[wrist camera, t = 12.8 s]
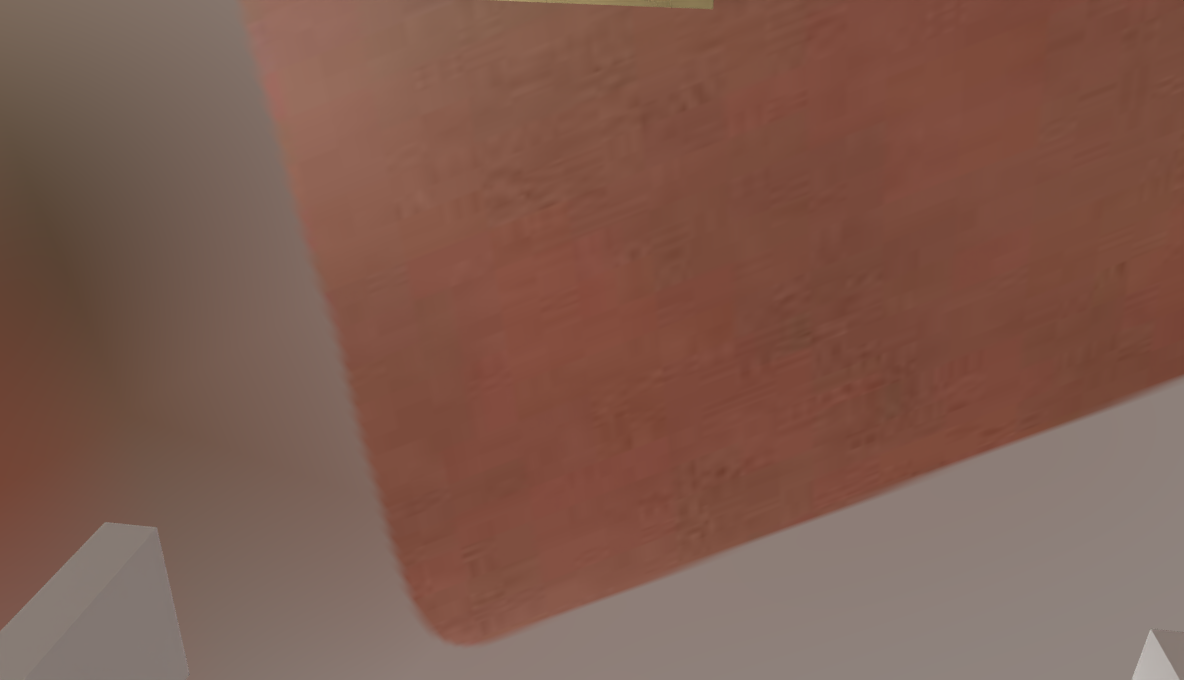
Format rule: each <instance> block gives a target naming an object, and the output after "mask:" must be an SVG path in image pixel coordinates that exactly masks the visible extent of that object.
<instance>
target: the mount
mask: <svg viewBox="0 0 1184 680" xmlns="http://www.w3.org/2000/svg"><path fill="white" fill-rule="evenodd" d="M499 1H524V2H549V3H574V4H599V5H624V6H649V7H674V8H699V9H713V2H714V0H499Z"/></svg>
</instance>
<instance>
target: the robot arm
mask: <svg viewBox="0 0 1184 680" xmlns="http://www.w3.org/2000/svg"><path fill="white" fill-rule="evenodd" d="M188 676H189V669H188V665H187V660H186V656H185V652H184V647H183V643H182V638H181V634H180V629H179V625H178V620H177V616H176V611H175V607H174V602H173V598H172V594H171V589H170V584H169V580H168V576H167V571H166V566H165V562H164V557H163V553H162V548H161V544H160V540H159V536H158V531H157V528H156V527H147V526H137V525H128V524H117V523H108V522H105V523H104V524H103V525H102V526H101V527H100V528H99V529H98V530H97V531H96V532H95V533H94V534H93V535H92V536H91V537H90V538H89V539H88V541H87V542H86V543H85V544H84V545H83V546H82V547H81V548H80V549H79V550H78V551H77V552H76V553H75V554H74V555H73V556H72V557H71V558H70V559H69V560H68V561H67V562H66V564H65V565H64V566H63V567H62V568H61V569H60V570H59V571H58V572H57V573H56V574H55V575H54V576H53V577H52V578H51V579H50V580H49V581H48V582H47V583H46V584H45V585H44V586H43V587H42V588H41V589H40V590H39V592H38V593H37V594H36V595H35V596H34V597H33V598H32V599H31V600H30V601H29V602H28V603H27V604H26V605H25V606H24V607H23V608H22V609H21V611H19V612H18V614H16V615H15V617H14V618H13V619H12V620H11V621H10V622H9V623H8V624H7V625H6V626H5V627H4V628H3V629H2V630H1V631H0V680H186V679H187V677H188ZM1132 680H1184V632H1178V631H1168V630H1158V629H1151V630H1150V632H1149V635H1148V638H1147V640H1146V643H1145V646H1144V648H1143V651H1142V654H1141V656H1140V659H1139V662H1138V665H1137V667H1136V670H1135V673H1134V675H1133V678H1132Z"/></svg>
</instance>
